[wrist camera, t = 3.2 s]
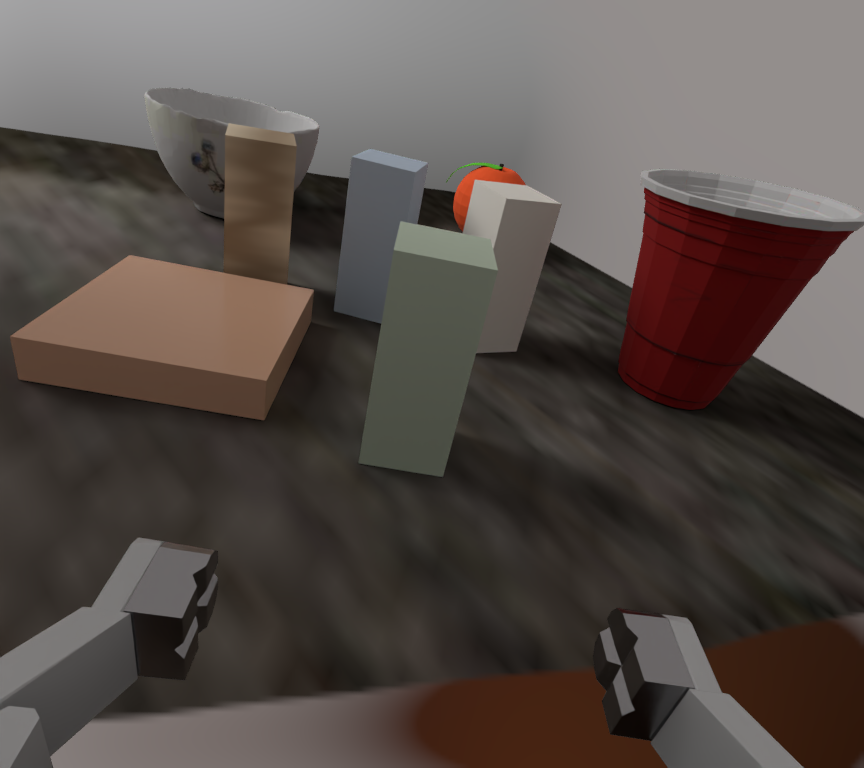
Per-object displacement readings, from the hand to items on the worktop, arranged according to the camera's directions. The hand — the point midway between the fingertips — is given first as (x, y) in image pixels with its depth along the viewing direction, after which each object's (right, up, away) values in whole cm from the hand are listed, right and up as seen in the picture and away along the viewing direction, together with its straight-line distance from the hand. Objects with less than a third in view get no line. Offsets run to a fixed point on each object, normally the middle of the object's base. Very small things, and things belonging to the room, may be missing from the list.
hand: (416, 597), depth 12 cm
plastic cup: (+14, +4, +23) cm, 28 cm away
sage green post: (-1, +2, +13) cm, 13 cm away
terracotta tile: (-12, +6, +16) cm, 21 cm away
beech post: (-11, +10, +23) cm, 28 cm away
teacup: (-16, +19, +37) cm, 45 cm away
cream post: (+3, +7, +24) cm, 25 cm away
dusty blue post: (-4, +9, +24) cm, 26 cm away
